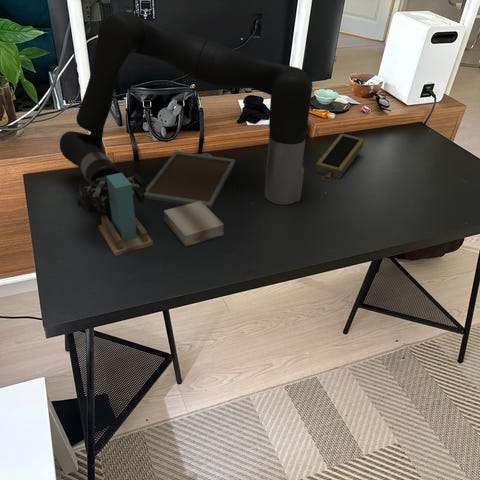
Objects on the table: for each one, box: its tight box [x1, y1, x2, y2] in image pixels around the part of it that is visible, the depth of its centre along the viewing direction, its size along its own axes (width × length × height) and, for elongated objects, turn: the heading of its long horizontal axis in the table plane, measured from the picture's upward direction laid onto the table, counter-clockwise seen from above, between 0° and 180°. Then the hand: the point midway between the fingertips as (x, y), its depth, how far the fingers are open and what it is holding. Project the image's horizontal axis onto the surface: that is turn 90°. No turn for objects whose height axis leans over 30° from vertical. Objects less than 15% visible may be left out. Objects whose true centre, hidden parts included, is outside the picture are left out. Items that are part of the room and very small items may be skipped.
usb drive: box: [77, 192, 110, 213], centre depth 125 cm, size 5×12×3 cm, turn 136°
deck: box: [163, 201, 225, 247], centre depth 116 cm, size 10×12×3 cm
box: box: [315, 133, 365, 183], centre depth 145 cm, size 8×22×5 cm, turn 150°
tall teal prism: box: [106, 172, 137, 242], centre depth 108 cm, size 4×6×14 cm, turn 31°
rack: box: [97, 215, 154, 257], centre depth 112 cm, size 9×12×4 cm
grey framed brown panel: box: [144, 150, 236, 209], centre depth 138 cm, size 19×2×30 cm
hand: (123, 204), depth 106 cm, fingers open, 8 cm apart
